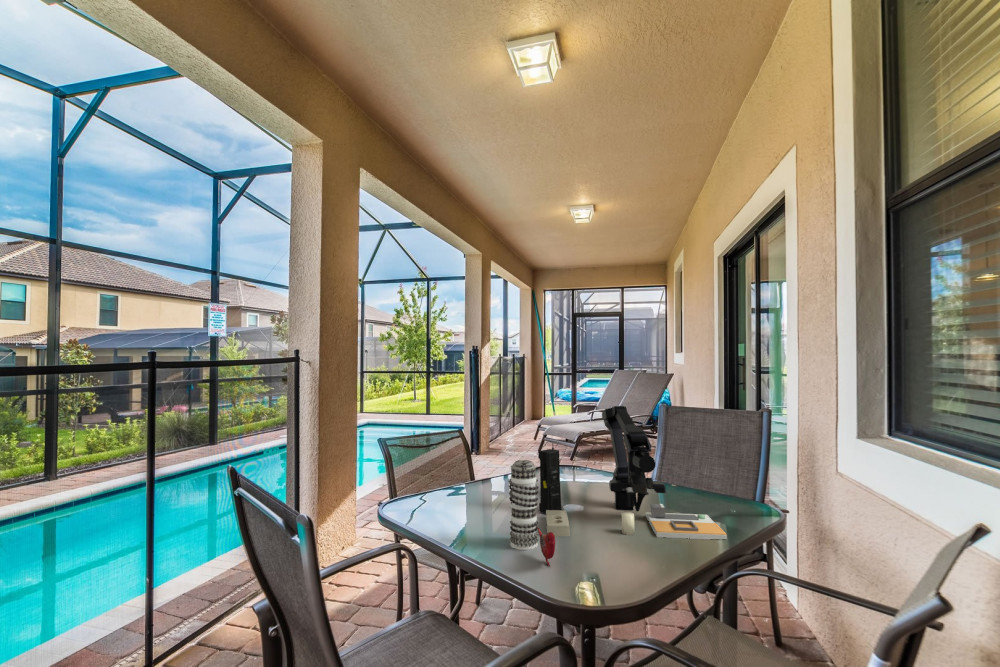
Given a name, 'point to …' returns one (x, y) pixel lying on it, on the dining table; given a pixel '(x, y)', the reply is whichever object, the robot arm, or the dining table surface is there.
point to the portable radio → (549, 480)
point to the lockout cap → (628, 523)
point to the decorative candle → (523, 505)
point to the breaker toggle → (657, 510)
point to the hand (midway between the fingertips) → (637, 511)
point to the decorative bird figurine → (547, 545)
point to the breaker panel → (685, 526)
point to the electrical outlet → (557, 522)
